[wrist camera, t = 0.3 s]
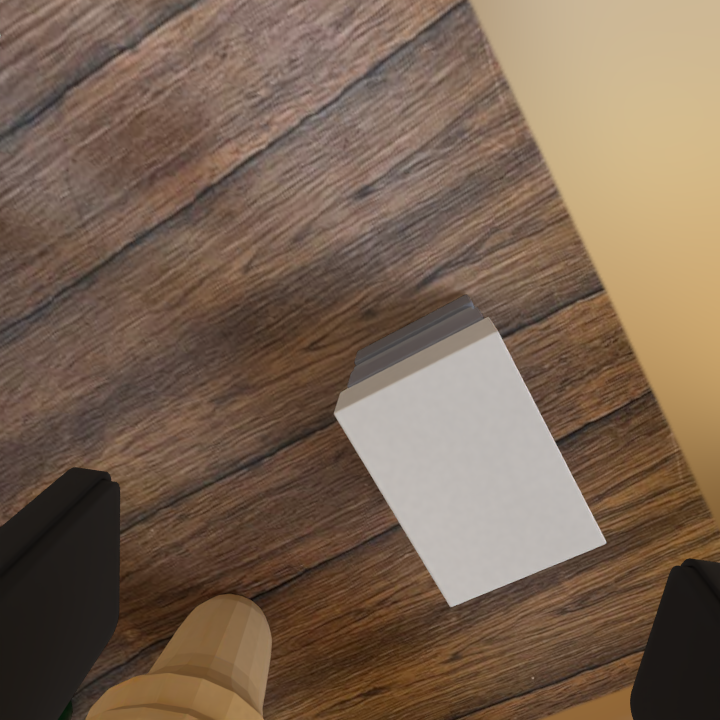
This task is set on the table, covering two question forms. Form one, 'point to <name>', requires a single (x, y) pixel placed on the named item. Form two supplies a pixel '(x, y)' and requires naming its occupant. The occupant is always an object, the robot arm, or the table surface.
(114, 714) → the ice cream cone
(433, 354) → the off-white flat block
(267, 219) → the table surface
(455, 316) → the grey books
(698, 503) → the table surface
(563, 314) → the table surface
